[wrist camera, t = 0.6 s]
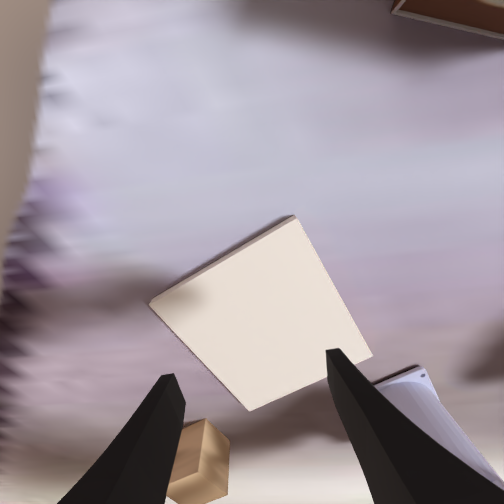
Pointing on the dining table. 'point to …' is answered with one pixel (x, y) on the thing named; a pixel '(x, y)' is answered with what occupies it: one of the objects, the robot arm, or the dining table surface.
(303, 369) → the painted board
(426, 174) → the dining table surface
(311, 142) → the dining table surface
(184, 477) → the oak cube
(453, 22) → the food container
